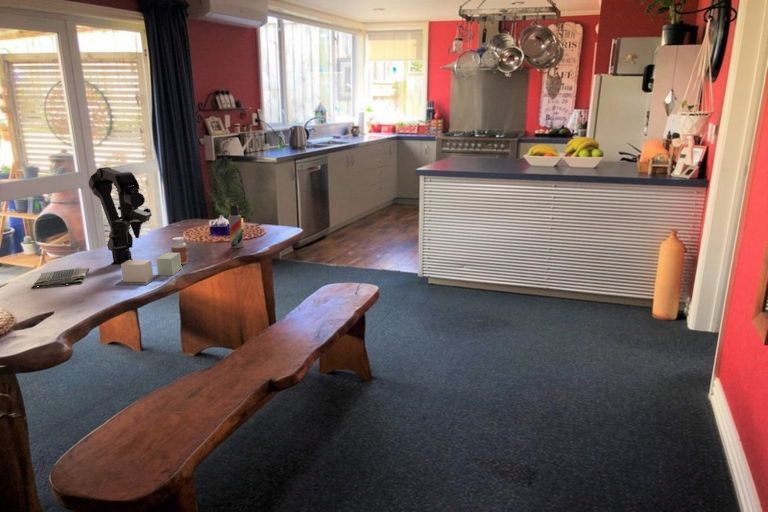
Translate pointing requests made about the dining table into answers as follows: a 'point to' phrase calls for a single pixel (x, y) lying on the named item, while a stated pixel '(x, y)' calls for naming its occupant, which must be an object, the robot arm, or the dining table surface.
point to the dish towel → (61, 277)
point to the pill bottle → (180, 248)
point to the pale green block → (169, 264)
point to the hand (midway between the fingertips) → (131, 240)
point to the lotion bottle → (235, 227)
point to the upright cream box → (137, 270)
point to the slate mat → (138, 282)
